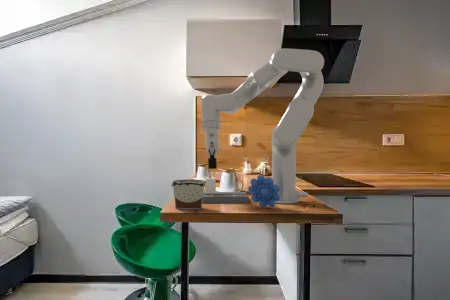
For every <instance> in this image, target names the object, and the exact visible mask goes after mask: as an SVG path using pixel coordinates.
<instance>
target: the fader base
mask: <svg viewBox="0 0 450 300" xmlns="http://www.w3.org/2000/svg"><path fill="white" fill-rule="evenodd" d="M230 203H231V204H248V203H249V195H248V194H247V192H246V191H216V194H213V195H208V194H206V191H203V199H202V204H230Z"/></svg>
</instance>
